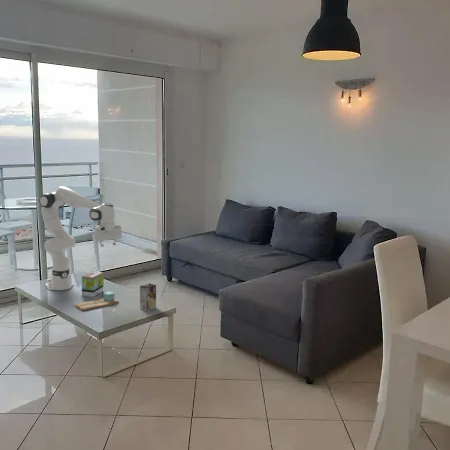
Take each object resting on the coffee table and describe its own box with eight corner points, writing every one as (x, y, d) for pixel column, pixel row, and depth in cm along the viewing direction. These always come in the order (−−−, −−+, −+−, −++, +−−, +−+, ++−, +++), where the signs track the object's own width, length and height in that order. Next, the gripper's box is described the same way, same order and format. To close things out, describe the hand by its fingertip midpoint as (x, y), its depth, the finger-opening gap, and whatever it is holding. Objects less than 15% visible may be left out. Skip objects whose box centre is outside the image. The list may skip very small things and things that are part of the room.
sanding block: (103, 299, 315) (103, 292, 314) (109, 298, 318) (109, 291, 317) (107, 301, 310) (107, 294, 309) (114, 300, 314) (114, 293, 313)
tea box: (94, 297, 323) (94, 277, 320) (81, 296, 324) (80, 276, 322) (104, 291, 337) (103, 271, 335) (91, 289, 339) (91, 270, 336)
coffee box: (149, 305, 310) (149, 282, 308) (156, 307, 307) (156, 284, 304) (139, 309, 303) (139, 285, 300) (146, 311, 299) (146, 288, 297)
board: (74, 306, 304) (74, 304, 303) (109, 298, 321) (109, 296, 321) (83, 311, 295) (83, 309, 295) (118, 303, 313) (118, 300, 313)
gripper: (118, 224, 327) (118, 243, 329) (92, 227, 313) (92, 246, 315) (123, 225, 322) (123, 244, 325) (97, 228, 308) (97, 248, 311)
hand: (108, 245), depth 320 cm, fingers open, 8 cm apart
